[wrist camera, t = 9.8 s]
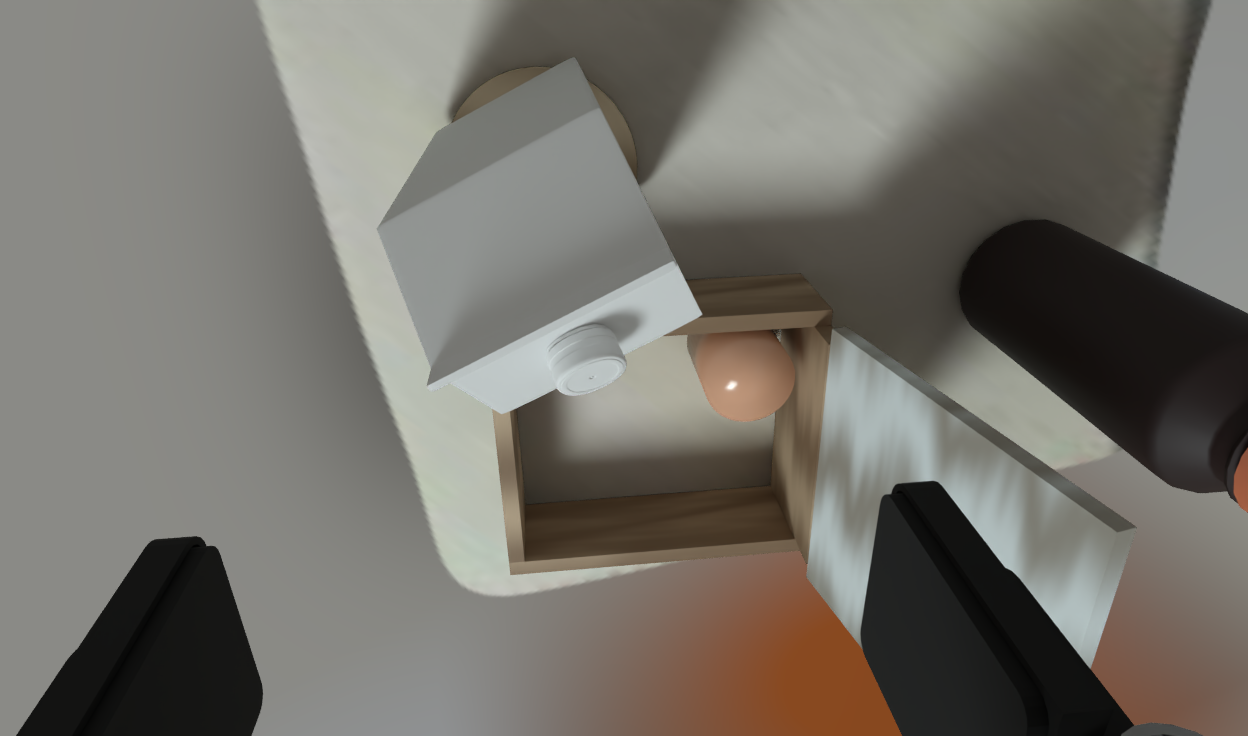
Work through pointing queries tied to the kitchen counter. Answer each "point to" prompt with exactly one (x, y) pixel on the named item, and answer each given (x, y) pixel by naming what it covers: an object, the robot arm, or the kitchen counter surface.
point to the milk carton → (531, 249)
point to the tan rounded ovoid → (742, 372)
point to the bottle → (1121, 349)
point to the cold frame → (839, 479)
